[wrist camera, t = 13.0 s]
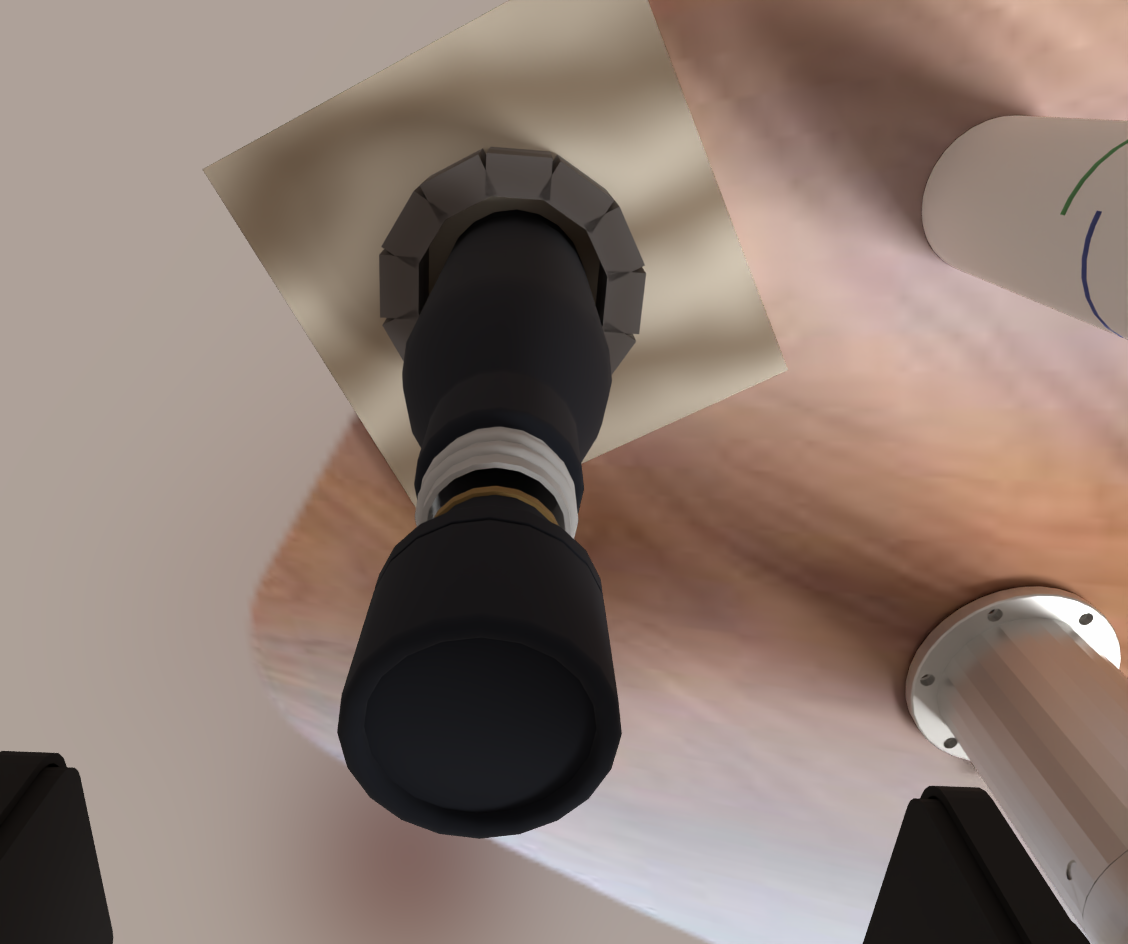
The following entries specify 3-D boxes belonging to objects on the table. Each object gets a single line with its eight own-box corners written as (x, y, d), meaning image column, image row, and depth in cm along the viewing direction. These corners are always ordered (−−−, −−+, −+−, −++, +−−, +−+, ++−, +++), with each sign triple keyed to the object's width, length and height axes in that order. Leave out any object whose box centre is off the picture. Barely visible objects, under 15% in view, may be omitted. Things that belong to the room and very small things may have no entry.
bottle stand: (779, 361, 42) (813, 397, 37) (434, 518, 45) (422, 571, 40) (620, -57, 34) (635, -82, 29) (214, 166, 37) (165, 178, 32)
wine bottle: (563, 191, 37) (660, 471, 10) (599, 327, 40) (754, 851, 12) (426, 231, 37) (147, 605, 10) (470, 363, 40) (344, 943, 13)
